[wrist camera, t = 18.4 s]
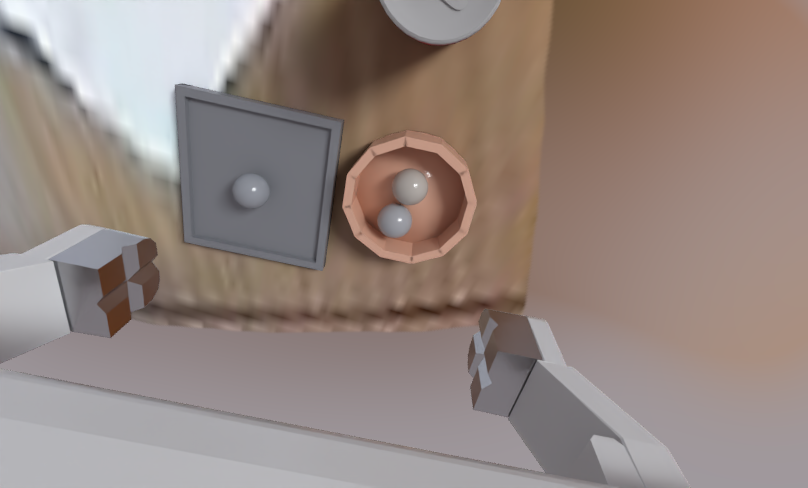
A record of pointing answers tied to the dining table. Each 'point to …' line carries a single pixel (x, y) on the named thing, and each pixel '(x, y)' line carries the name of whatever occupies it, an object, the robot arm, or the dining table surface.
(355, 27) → the dining table surface
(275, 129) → the tray
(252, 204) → the pebble
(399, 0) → the canned food
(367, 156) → the bowl
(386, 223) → the pebble
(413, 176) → the pebble
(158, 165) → the dining table surface
